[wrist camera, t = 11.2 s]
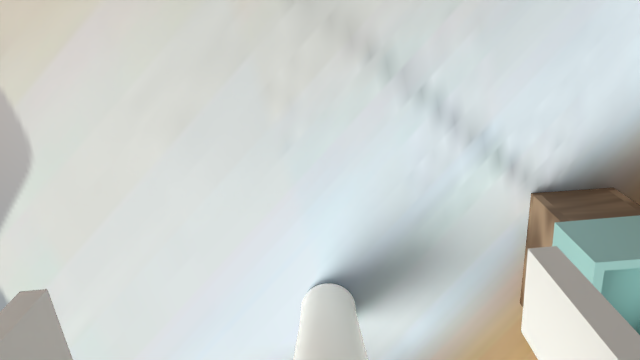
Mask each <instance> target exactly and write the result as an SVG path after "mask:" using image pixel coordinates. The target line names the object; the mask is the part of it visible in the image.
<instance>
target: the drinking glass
mask: <svg viewBox="0 0 640 360" xmlns="http://www.w3.org/2000/svg"><path fill="white" fill-rule="evenodd" d="M293 360H368V356H367V352H366V349H365V345H364V341H363V337H362V333H361V330H360V326H359V322H358V318H357V313H356V306H355V301H354V299H353V297H352V295H351V294H350V292H349V291H348V290H347V289H345V288H344V287H342V286H340V285H337V284H332V283H325V284H320V285H317V286H315V287H313V288H312V289H310V290H309V291H308V292H307V293H306V294H305V296H304V298H303V300H302V304H301V316H300V323H299V329H298V335H297V341H296V346H295V352H294V358H293Z"/></svg>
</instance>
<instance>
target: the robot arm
mask: <svg viewBox="0 0 640 360" xmlns="http://www.w3.org/2000/svg"><path fill="white" fill-rule="evenodd" d="M521 332H522V334H523V335H524V337H525V339H526V340H527V342H528V344H529V345H530V347H531V349H532V350H533V352H534V354H535V355H536V357H537V359H538V360H640V335H639V334H638V333H637V332H636V331H635V329H634V328H633V327H632V326H631V325H630V324H629V323H628V322H627V321H626V320H625V319H624V318H623V317H622V316H621V314H620V313H619V312H618V311H617V310H616V309H615V308H614V307H613V306H612V305H611V304H610V303H609V302H608V301H607V299H606V298H605V297H604V296H603V295H602V294H601V293H600V292H599V291H598V290H597V289H596V288H595V287H594V286H593V284H592V283H591V282H590V281H589V280H588V279H587V278H586V277H585V276H584V275H583V274H582V273H581V272H580V271H579V269H578V268H577V267H576V266H575V265H574V264H573V263H572V262H571V261H570V260H569V259H568V258H567V257H566V256H565V254H564V253H563V252H562V251H561V250H560V249H559V248H558V247H557V246H552V247H540V248H529V249H528V253H527V266H526V278H525V291H524V303H523V316H522V328H521ZM0 360H73V359H72V356H71V353H70V351H69V348H68V345H67V342H66V340H65V337H64V334H63V331H62V329H61V326H60V323H59V320H58V318H57V315H56V312H55V309H54V306H53V304H52V301H51V298H50V295H49V293H48V290H47V289H45V290H33V291H21V292H19V293H18V294H17V295H16V296H15V297H14V298H13V299H12V300H11V301H10V302H9V303H8V304H7V306H6V307H5V308H4V309H3V310H2V311H1V312H0Z"/></svg>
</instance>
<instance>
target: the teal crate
mask: <svg viewBox="0 0 640 360" xmlns="http://www.w3.org/2000/svg"><path fill="white" fill-rule="evenodd" d="M552 246H557V247H558V248H559V249H560V250H561V251H562V252H563V253H564V254H565V256H566V257H567V258H568V259H569V260H570V261H571V262H572V263H573V264H574V265H575V266H576V267H577V268H578V269H579V271H580V272H581V273H582V274H583V275H584V276H585V277H586V278H587V279H588V280H589V281H590V282H591V283H592V284H593V286H594V287H595V288H596V289H597V290H598V291H599V292H600V293H601V294H602V295H603V296H604V297H605V298H606V299H607V301H608V302H609V303H610V304H611V305H612V306H613V307H614V308H615V309H616V310H617V311H618V312H619V313H620V314H621V316H622V317H623V318H624V319H625V320H626V321H627V322H628V323H629V324H630V325H631V326H632V327H633V328H634V329H635V331H636V332H637V333H638V334H639V335H640V215H638V216H626V217H614V218H602V219H590V220H578V221H566V222H555V224H554V234H553V244H552Z"/></svg>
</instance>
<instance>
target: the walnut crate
mask: <svg viewBox="0 0 640 360" xmlns="http://www.w3.org/2000/svg"><path fill="white" fill-rule="evenodd" d="M638 215H640V205H638V204H637V203H635V202H634V201H632V200H631V199H629V198H628V197H626V196H625V195H623V194H622V193H621V192H619V191H618V190H616V189H615V188H601V189H587V190H572V191H558V192H543V193H531V201H530V210H529V220H528V230H527V240H526V249H525V259H524V269H523V279H522V288H521V298H520V304H521V305H522V307H523V303H524V291H525V278H526V266H527V253H528V249H529V248H540V247H552V244H553V234H554V224H555V222H566V221H578V220H590V219H602V218H614V217H626V216H638Z"/></svg>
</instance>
